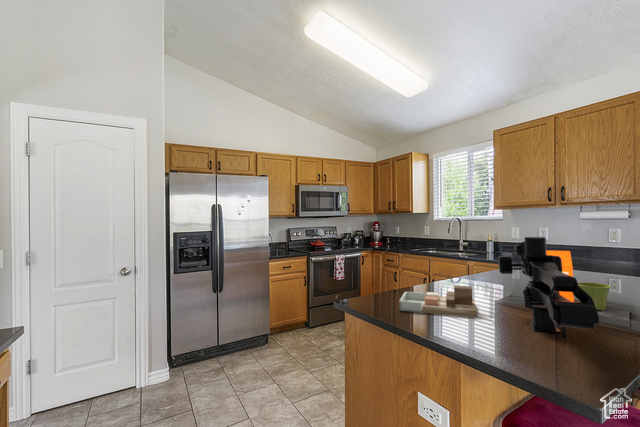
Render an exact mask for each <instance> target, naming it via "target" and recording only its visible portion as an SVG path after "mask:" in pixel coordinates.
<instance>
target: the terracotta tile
mask: <svg viewBox="0 0 640 427" xmlns="http://www.w3.org/2000/svg"><path fill="white" fill-rule="evenodd" d="M425 304H428V305H438V297H433V296H426V295H425Z"/></svg>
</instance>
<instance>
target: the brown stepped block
mask: <svg viewBox="0 0 640 427" xmlns="http://www.w3.org/2000/svg"><path fill="white" fill-rule="evenodd" d="M445 293H446V296H445V297H446V307H455V304H461V305H473V302H472V299H473V288H472V286H465V285H453V291H446V292H445Z"/></svg>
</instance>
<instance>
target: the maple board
mask: <svg viewBox="0 0 640 427" xmlns="http://www.w3.org/2000/svg"><path fill="white" fill-rule="evenodd" d="M472 302H473V305H461V304H455V307H446V296H441V295H439V300H438V305H428V304H425V299H424V302H423V305H422V312H421V313H425V314H435V315H443V316H455V317H467V318H478V309H477V306H476V301H475V298H472Z"/></svg>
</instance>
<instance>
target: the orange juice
mask: <svg viewBox="0 0 640 427" xmlns="http://www.w3.org/2000/svg"><path fill="white" fill-rule="evenodd" d="M546 255H553V256H559V257H560V258H561V260H562V270H563V271H562V273H564V274H566V275H568V276H572V277H574V272H573V270H574V268H573V262H572V261H573V260H572V256H571V251H570V250H546ZM559 293H560V295H561V296H563V297H565V298H566V299H568V300H570V301H571V302H575V296H574V295H573V293H572V292H561V291H559Z"/></svg>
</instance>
